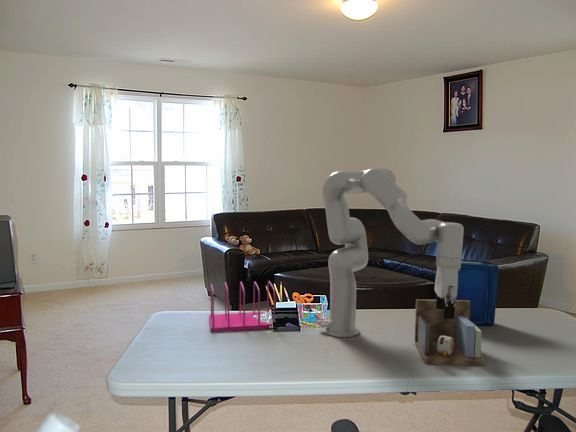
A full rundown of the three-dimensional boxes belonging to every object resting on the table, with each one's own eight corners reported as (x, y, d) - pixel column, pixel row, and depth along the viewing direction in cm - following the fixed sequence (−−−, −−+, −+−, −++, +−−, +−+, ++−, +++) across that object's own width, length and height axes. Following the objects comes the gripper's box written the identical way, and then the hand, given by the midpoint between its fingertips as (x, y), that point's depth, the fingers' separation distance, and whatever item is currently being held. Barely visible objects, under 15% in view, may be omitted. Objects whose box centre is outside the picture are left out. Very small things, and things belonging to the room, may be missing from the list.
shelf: (425, 363, 155) (427, 314, 154) (414, 344, 173) (415, 299, 171) (483, 365, 154) (486, 315, 153) (467, 345, 172) (469, 300, 170)
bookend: (424, 355, 158) (425, 325, 157) (417, 343, 169) (418, 314, 168) (428, 355, 158) (429, 325, 157) (421, 343, 169) (422, 315, 168)
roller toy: (455, 352, 161) (456, 335, 160) (449, 358, 156) (450, 341, 155) (442, 349, 163) (442, 332, 163) (435, 355, 158) (436, 338, 158)
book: (492, 321, 199) (495, 260, 197) (498, 327, 192) (501, 263, 190) (437, 319, 201) (439, 258, 199) (440, 324, 194) (443, 262, 192)
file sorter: (277, 329, 188) (277, 288, 187) (210, 332, 183) (210, 291, 182) (269, 315, 205) (270, 278, 204) (208, 318, 200) (208, 280, 199)
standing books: (465, 356, 157) (466, 326, 156) (455, 344, 168) (457, 315, 167) (480, 357, 157) (481, 326, 156) (469, 344, 168) (471, 316, 167)
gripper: (430, 255, 166) (426, 305, 168) (443, 266, 149) (439, 322, 151) (453, 256, 165) (449, 306, 167) (468, 268, 148) (464, 323, 150)
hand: (444, 313), depth 159 cm, fingers open, 9 cm apart
